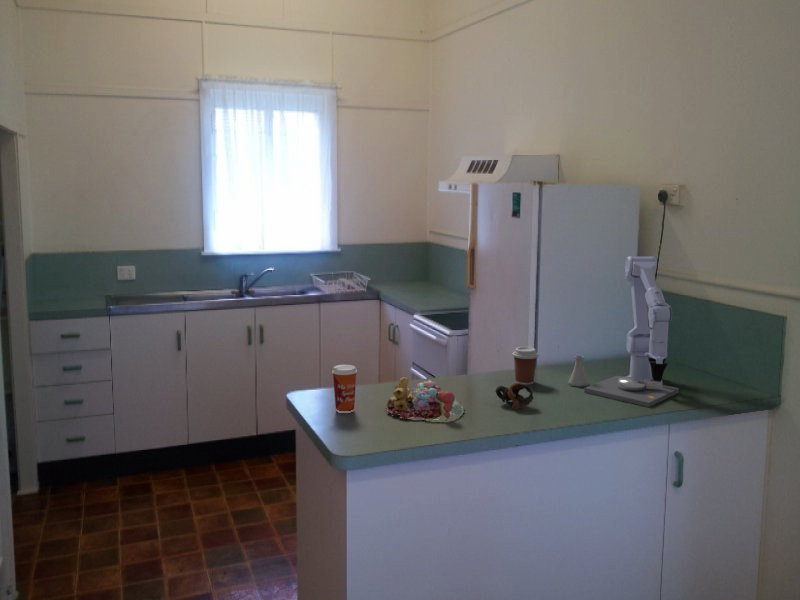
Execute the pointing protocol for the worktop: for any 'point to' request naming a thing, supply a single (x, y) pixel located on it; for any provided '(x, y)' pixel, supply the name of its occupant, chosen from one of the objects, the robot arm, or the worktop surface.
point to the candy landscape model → (423, 401)
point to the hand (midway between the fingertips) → (656, 380)
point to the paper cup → (344, 386)
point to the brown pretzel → (515, 395)
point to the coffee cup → (525, 364)
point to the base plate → (630, 392)
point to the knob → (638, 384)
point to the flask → (578, 374)
